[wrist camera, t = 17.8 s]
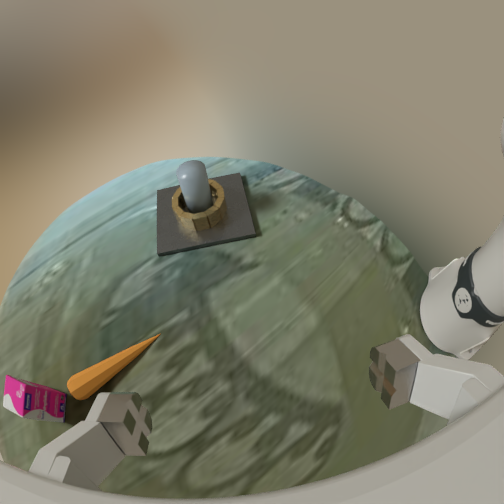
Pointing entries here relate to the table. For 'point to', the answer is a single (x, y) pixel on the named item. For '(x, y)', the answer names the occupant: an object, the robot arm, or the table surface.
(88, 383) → the carrot
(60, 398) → the supplement box
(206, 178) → the grey capsule peg
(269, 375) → the table surface
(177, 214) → the brass socket
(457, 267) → the robot arm
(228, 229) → the mounting plate
